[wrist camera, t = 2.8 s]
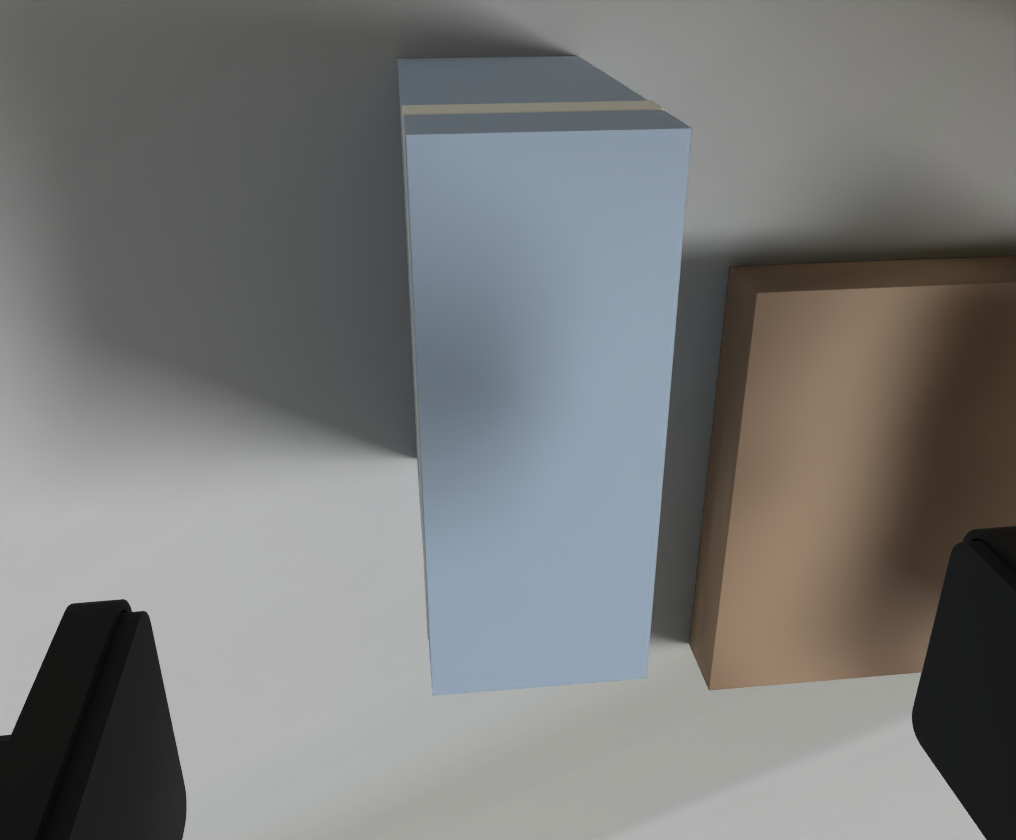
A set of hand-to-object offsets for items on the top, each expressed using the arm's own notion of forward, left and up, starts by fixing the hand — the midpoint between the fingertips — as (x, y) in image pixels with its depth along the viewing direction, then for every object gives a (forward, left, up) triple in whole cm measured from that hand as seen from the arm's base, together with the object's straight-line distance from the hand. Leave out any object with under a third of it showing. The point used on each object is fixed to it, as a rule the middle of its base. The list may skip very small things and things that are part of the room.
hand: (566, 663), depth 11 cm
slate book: (-1, 0, -14) cm, 14 cm away
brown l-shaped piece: (-13, +6, -14) cm, 20 cm away
